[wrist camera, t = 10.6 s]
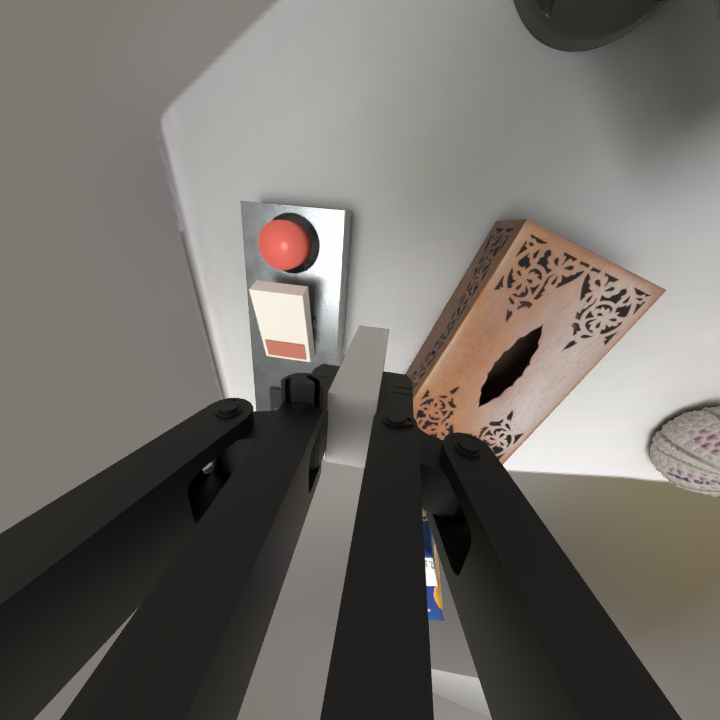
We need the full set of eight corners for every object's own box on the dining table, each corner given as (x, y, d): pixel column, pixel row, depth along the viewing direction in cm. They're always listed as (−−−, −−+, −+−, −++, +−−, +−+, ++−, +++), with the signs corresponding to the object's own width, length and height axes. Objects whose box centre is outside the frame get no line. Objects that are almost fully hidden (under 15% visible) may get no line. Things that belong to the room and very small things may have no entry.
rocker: (256, 280, 33) (248, 290, 31) (307, 286, 32) (301, 297, 31) (272, 346, 40) (265, 357, 38) (314, 352, 39) (309, 363, 38)
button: (269, 218, 33) (256, 217, 30) (312, 222, 32) (303, 222, 30) (271, 264, 35) (259, 267, 32) (311, 269, 34) (303, 272, 32)
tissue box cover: (478, 424, 47) (495, 471, 38) (397, 387, 46) (395, 426, 37) (600, 274, 35) (666, 290, 26) (495, 221, 35) (526, 219, 26)
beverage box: (421, 417, 47) (432, 555, 27) (429, 469, 51) (444, 621, 32) (379, 421, 49) (362, 555, 29) (391, 471, 53) (382, 617, 33)
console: (260, 204, 37) (234, 200, 32) (352, 212, 36) (342, 210, 31) (270, 410, 51) (254, 432, 45) (337, 421, 50) (329, 445, 44)
